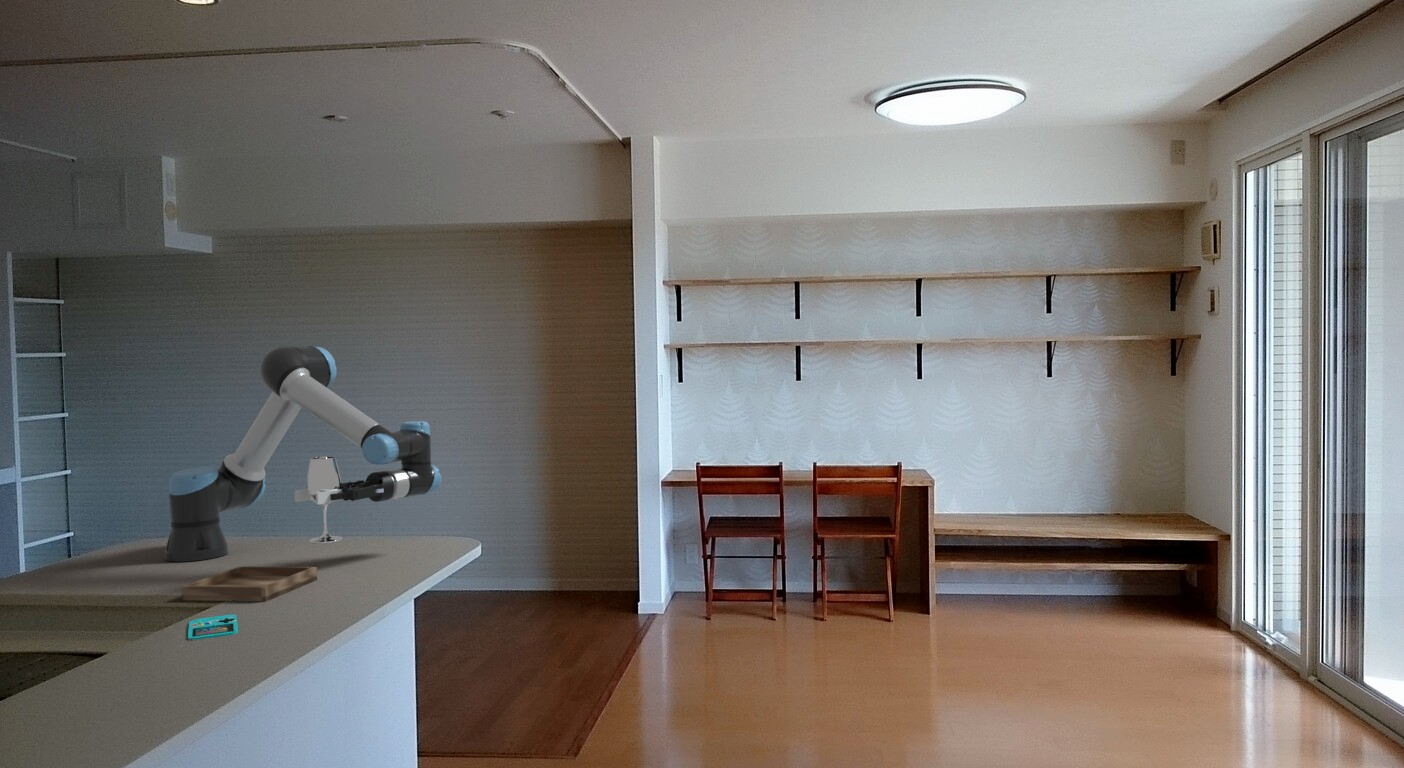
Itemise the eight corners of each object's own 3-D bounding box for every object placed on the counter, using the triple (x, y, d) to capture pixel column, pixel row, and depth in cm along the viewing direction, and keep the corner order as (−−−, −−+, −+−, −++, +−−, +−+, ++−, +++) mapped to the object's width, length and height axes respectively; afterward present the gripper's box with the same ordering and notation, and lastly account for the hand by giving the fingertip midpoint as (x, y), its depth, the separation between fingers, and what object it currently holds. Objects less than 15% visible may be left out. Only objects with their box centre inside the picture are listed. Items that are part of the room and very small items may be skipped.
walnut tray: (240, 578, 233) (239, 566, 233) (317, 579, 230) (316, 567, 230) (182, 600, 214) (181, 586, 213) (265, 601, 210) (265, 587, 210)
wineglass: (331, 543, 231) (328, 459, 230) (301, 543, 233) (298, 459, 232) (349, 537, 239) (346, 455, 238) (320, 536, 240) (317, 455, 240)
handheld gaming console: (236, 612, 199) (237, 630, 185) (236, 617, 199) (238, 636, 185) (189, 618, 195) (187, 637, 182) (189, 623, 195) (188, 643, 182)
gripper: (413, 503, 245) (333, 516, 226) (361, 497, 256) (281, 510, 237) (412, 473, 244) (332, 484, 226) (360, 468, 256) (280, 479, 237)
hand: (306, 497), depth 231 cm, fingers closed on wineglass, 8 cm apart
